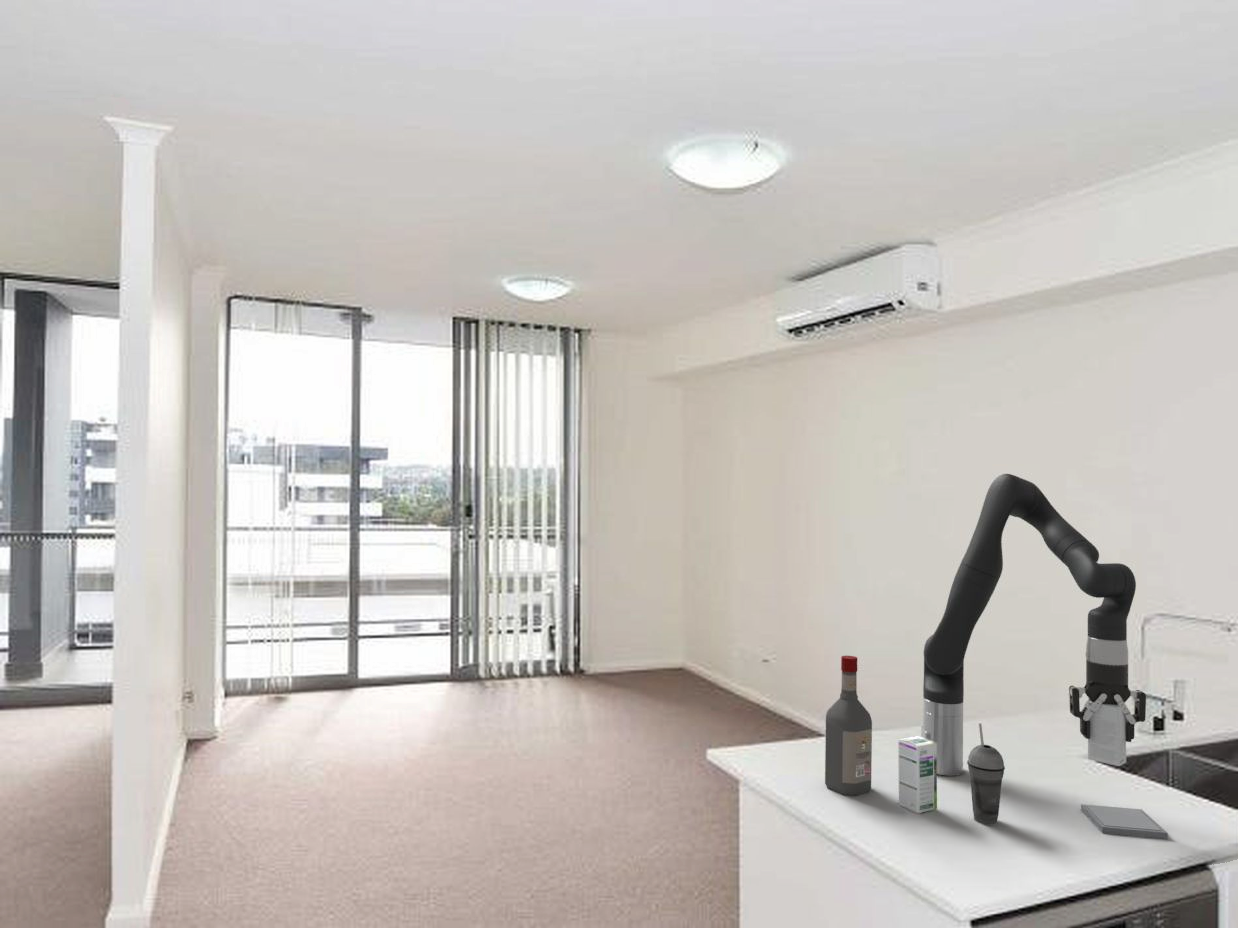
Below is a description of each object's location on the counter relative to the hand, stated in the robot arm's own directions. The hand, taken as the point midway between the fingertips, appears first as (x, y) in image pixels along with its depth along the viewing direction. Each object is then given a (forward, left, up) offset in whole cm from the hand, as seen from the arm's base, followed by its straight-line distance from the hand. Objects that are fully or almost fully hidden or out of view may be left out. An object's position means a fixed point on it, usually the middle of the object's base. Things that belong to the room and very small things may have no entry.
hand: (1107, 739), depth 169 cm
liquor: (-51, +9, -18) cm, 55 cm away
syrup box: (-37, +1, -18) cm, 41 cm away
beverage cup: (-24, -3, -18) cm, 30 cm away
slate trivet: (+4, +2, -18) cm, 19 cm away
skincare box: (0, 0, -5) cm, 5 cm away
